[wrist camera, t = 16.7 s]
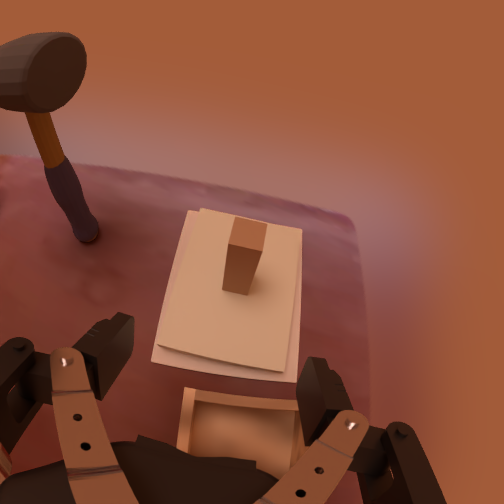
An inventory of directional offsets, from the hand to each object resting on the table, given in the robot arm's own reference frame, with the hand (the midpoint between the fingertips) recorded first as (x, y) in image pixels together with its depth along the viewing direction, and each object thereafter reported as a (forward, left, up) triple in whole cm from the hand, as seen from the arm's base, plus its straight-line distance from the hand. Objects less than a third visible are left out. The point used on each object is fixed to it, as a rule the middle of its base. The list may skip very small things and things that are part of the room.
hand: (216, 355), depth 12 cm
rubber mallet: (+2, +27, -21) cm, 34 cm away
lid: (+11, +6, -19) cm, 23 cm away
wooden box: (-6, -9, -21) cm, 23 cm away
